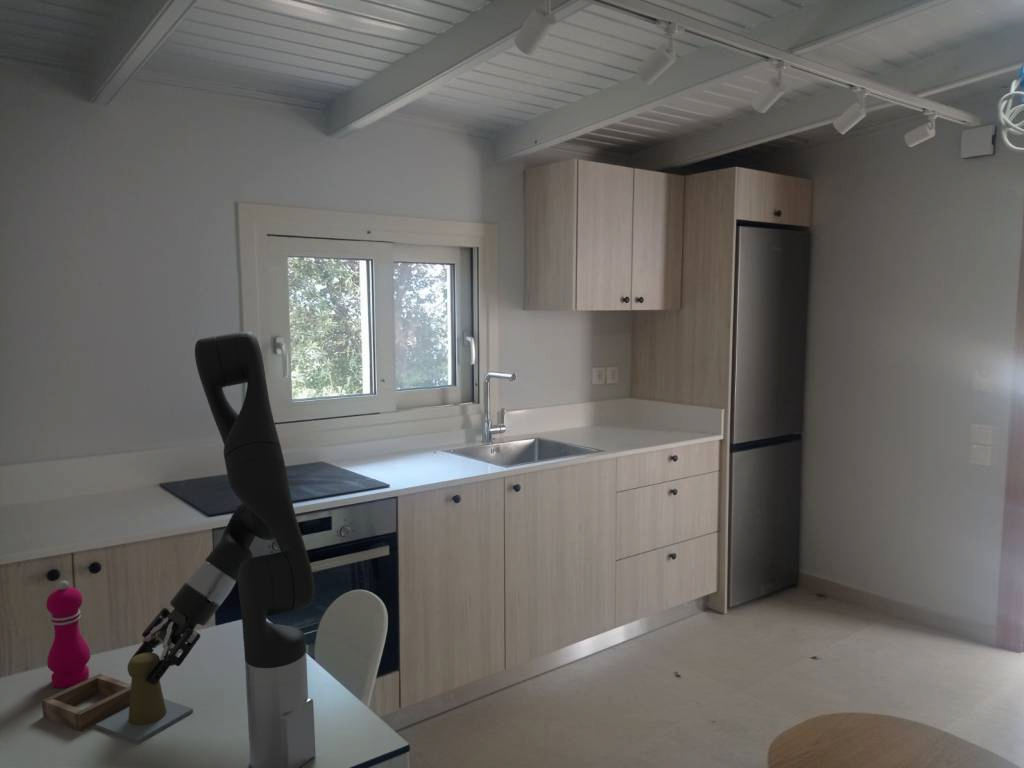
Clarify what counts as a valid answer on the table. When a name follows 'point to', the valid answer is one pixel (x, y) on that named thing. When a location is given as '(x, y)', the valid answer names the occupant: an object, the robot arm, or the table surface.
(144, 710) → the cork
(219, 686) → the table surface
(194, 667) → the table surface
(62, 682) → the pepper mill
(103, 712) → the walnut collar
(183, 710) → the rubber mat
